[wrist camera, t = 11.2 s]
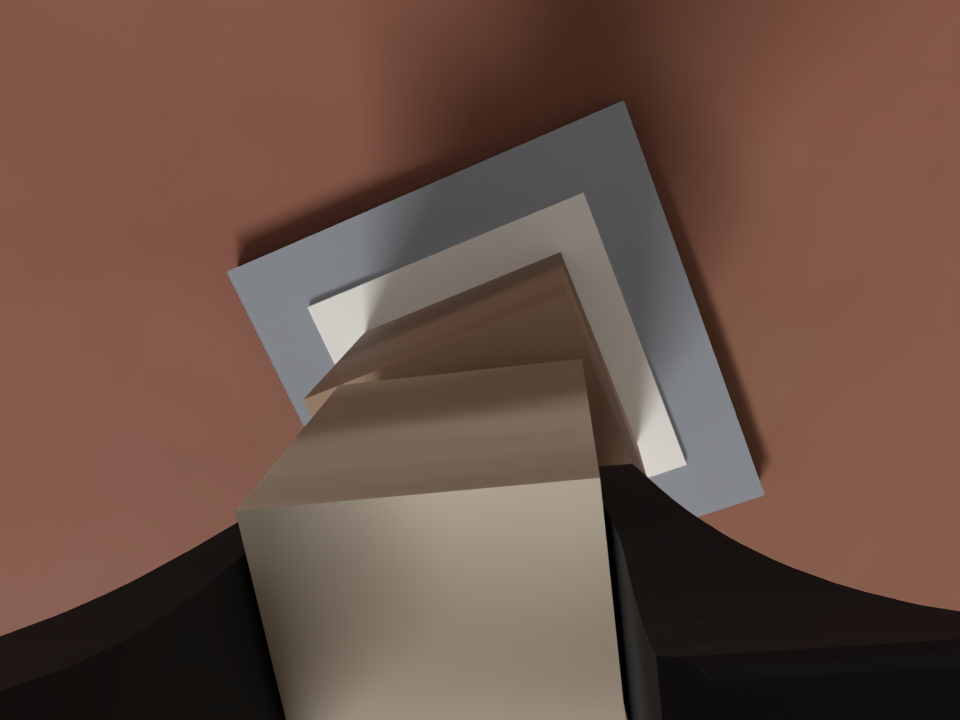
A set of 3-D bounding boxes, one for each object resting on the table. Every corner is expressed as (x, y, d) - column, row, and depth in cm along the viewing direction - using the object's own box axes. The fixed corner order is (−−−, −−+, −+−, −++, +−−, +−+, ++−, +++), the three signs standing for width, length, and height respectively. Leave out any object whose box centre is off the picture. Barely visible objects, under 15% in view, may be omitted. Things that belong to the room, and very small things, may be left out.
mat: (236, 267, 19) (224, 272, 19) (621, 101, 18) (624, 99, 17) (402, 601, 22) (397, 618, 21) (758, 484, 20) (766, 498, 19)
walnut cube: (365, 331, 19) (302, 399, 14) (560, 251, 18) (565, 295, 13) (449, 509, 20) (418, 628, 15) (637, 442, 19) (666, 546, 14)
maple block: (338, 384, 13) (235, 511, 9) (581, 358, 13) (599, 477, 8) (380, 596, 14) (306, 802, 10) (605, 580, 14) (631, 788, 9)
